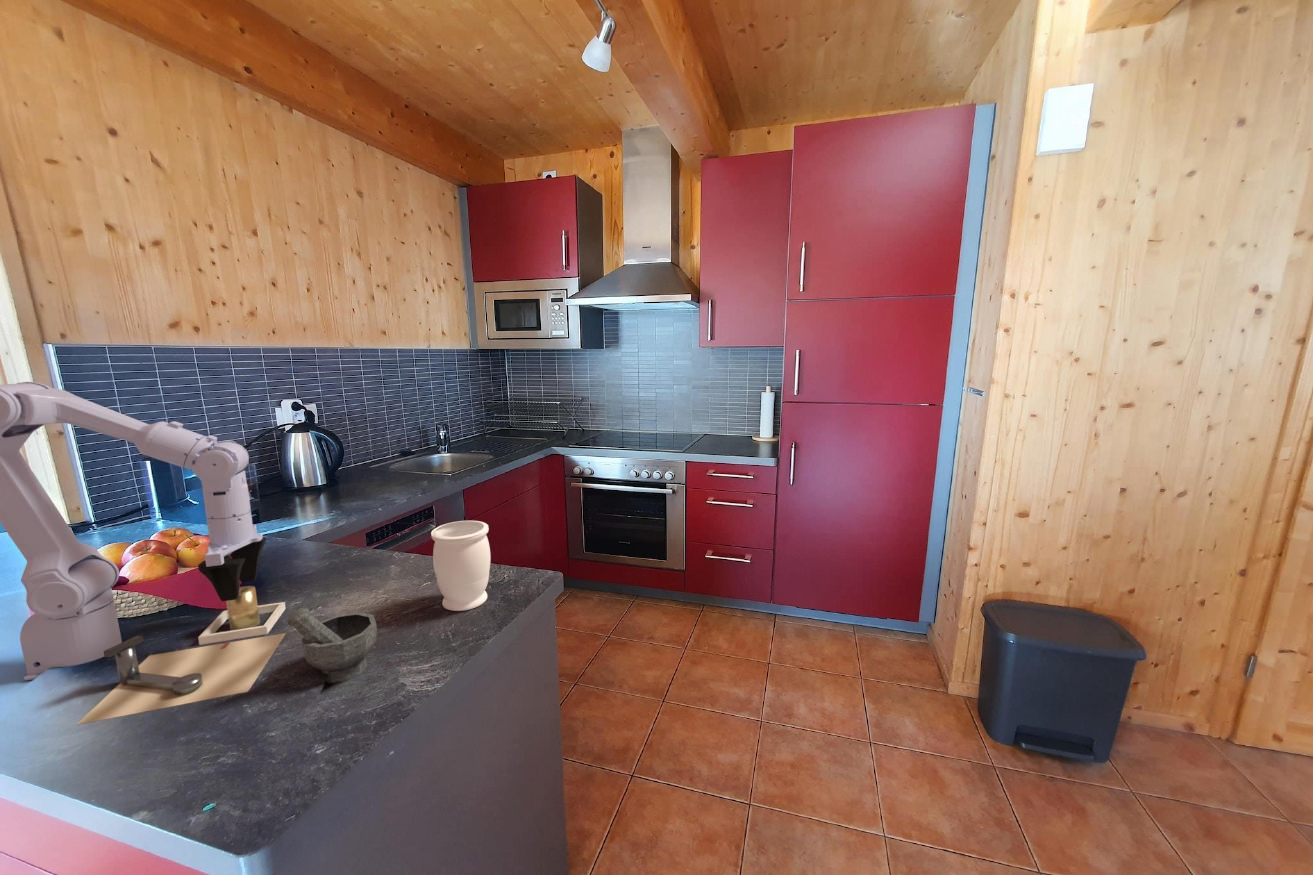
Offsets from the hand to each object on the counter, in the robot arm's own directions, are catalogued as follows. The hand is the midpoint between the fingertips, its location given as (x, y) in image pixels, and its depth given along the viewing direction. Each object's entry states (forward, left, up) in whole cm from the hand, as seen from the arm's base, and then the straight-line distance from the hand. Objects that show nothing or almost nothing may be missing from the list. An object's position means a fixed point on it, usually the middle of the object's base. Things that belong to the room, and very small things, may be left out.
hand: (239, 589), depth 86 cm
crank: (-5, -16, -6) cm, 17 cm away
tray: (0, 0, -8) cm, 8 cm away
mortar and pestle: (+18, -19, -8) cm, 27 cm away
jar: (+36, -2, -8) cm, 37 cm away
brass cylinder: (0, 0, -7) cm, 7 cm away
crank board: (-1, -13, -8) cm, 16 cm away
